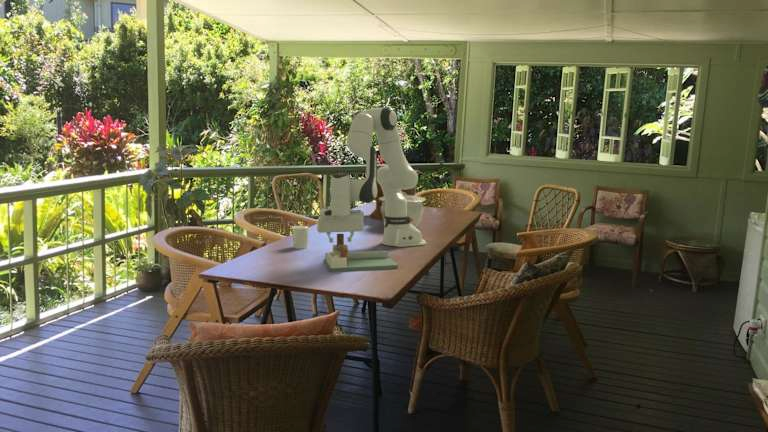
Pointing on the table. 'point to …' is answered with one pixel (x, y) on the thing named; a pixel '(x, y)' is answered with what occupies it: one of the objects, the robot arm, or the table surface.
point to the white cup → (300, 236)
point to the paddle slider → (341, 246)
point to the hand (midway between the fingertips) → (340, 241)
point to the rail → (365, 255)
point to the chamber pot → (409, 207)
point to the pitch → (357, 263)
